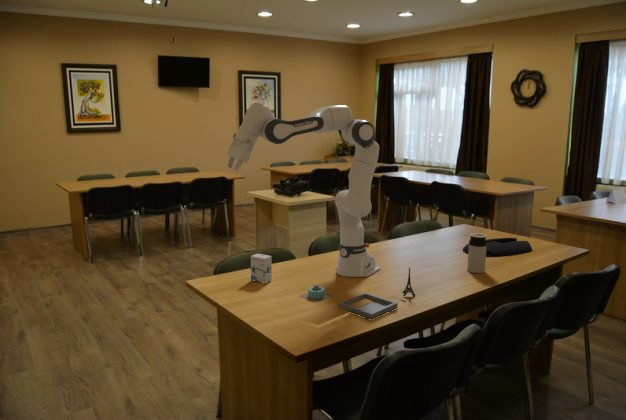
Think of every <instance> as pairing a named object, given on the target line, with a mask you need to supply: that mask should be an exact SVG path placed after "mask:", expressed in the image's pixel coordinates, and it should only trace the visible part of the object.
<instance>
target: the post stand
mask: <svg viewBox="0 0 626 420" xmlns="http://www.w3.org/2000/svg"><path fill="white" fill-rule="evenodd" d="M313 287H314V291H319V287H320V284H314V285H313ZM299 297H301V298H303V299H306V300H308V301H312V302H314V303H319V302H322V301H324V300H325V301H326V300H327V299H330V298H332V297H334V295H332V294H330V293H327V292H325V296H324V298H321V299H312V298H310V297H309V296H308V292H307V293H304V294H301V295H299Z"/></svg>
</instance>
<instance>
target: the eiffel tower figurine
mask: <svg viewBox="0 0 626 420" xmlns="http://www.w3.org/2000/svg"><path fill="white" fill-rule="evenodd" d="M407 276H408V277H407V283H406V286H405V287H404V289H403V290H404V291H403V292H402V293H404V295H403V296H405V295H406V294H407V293H412V295H413V297H415V296H416V294H415V295H414V293H415V292H414V290H413V289H414V288H413V287H412V285H411V284H412V282H411V268H410V267H409V268H408V275H407Z"/></svg>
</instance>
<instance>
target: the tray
mask: <svg viewBox="0 0 626 420" xmlns="http://www.w3.org/2000/svg"><path fill="white" fill-rule="evenodd" d="M365 298H367V299H370V300H373V301H371V302H369V303H366V304H363V305H361V306H359V307H355V306H354V305H350V304H352V303H355V302H357V301H360V300H362V299H365ZM398 305H399V304H398V302H396V301H394V300H391V299H387V298H384V297H380V296H378V295H374V294H371V293H368V292H362V293H360V294H358V295H354V296H352V297H349V298H347V299H344V300H343V301H341V302H338V307H339V308H341V309H344V310H348V313H349V312H351V313H354V314H357V315H360V316H362V317H365V318H368V319H371V320H372V319H374V318H376V317H378V316H381V315H383V314H385V313H387V312H390V311H392V310H394V309H396V308H397V309H398ZM397 309H396V310H397ZM394 311H395V310H394ZM392 312H393V311H392ZM351 313H350V314H351ZM390 313H391V312H390ZM354 314H353V315H354ZM387 314H388V313H387ZM357 315H356V316H357ZM385 315H386V314H385ZM360 316H359V317H360ZM383 316H384V315H383ZM362 317H361V318H362ZM381 317H382V316H381ZM365 318H364V319H365ZM368 319H367V320H368ZM371 320H370V321H371ZM374 320H375V319H374ZM372 321H373V320H372Z"/></svg>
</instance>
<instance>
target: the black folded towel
mask: <svg viewBox="0 0 626 420" xmlns="http://www.w3.org/2000/svg"><path fill="white" fill-rule="evenodd" d="M486 242H487V246H486V257H492V258H498V257H509V256H510V257H511V256H516V255H522V254H526V253H530V252H532V251H533V248H532V246H531V245H532V244H531V243H530V242H529V241H528V240H518V238H517V237H498V238H497V237H496V238H489V239H486ZM462 251H463V252H464V253H465V254H468V252H469V243H467V244H466V245H465V246H463V248H462Z"/></svg>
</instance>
